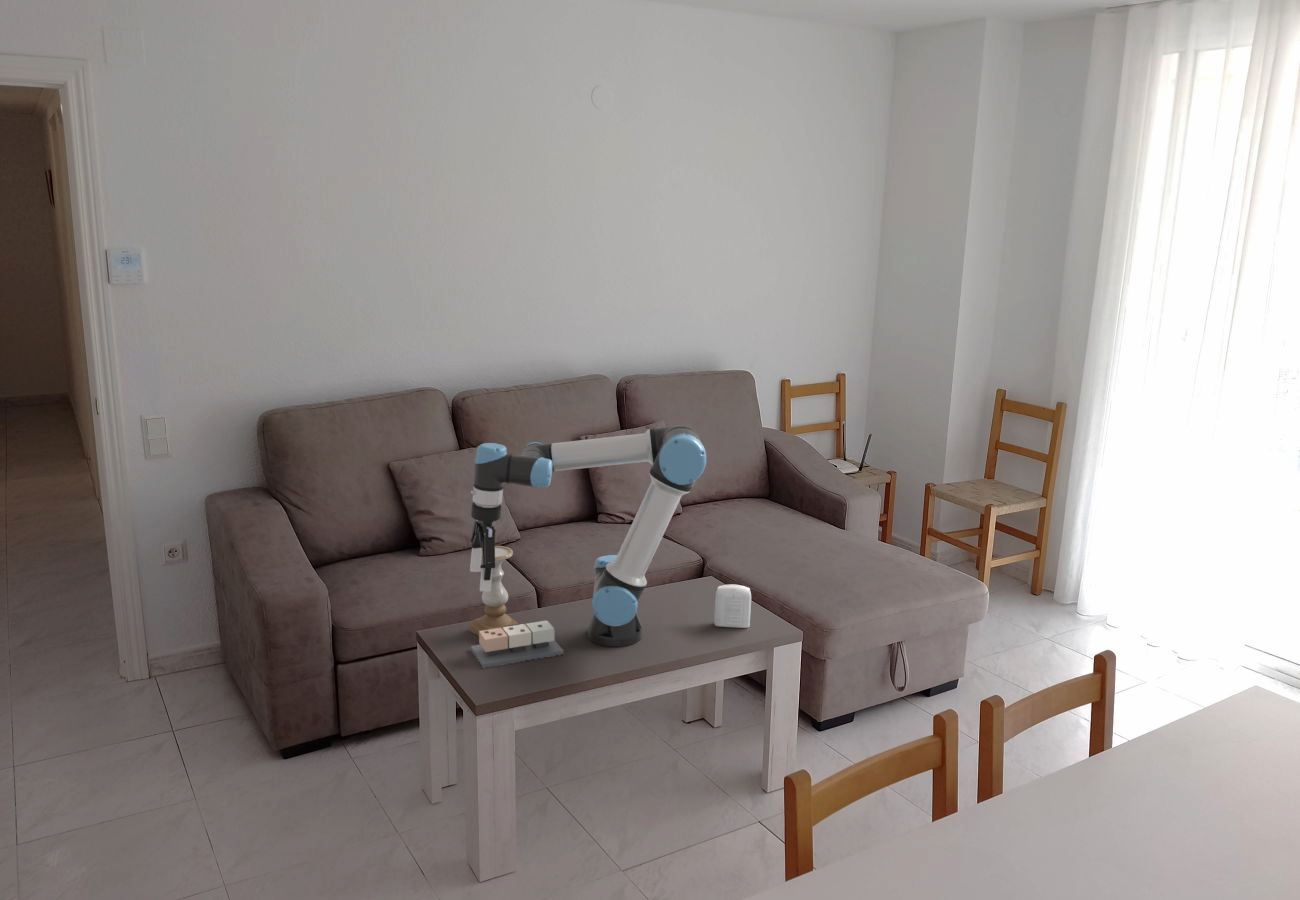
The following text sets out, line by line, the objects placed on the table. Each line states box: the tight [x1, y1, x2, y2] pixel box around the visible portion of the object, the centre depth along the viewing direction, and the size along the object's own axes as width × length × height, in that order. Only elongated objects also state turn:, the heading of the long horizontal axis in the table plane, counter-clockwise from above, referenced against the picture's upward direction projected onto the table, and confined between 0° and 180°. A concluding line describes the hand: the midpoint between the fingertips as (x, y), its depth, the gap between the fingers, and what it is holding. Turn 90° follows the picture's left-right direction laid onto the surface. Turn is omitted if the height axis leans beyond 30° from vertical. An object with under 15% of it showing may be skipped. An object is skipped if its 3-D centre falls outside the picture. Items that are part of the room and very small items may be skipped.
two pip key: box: [503, 623, 531, 648], centre depth 272 cm, size 6×6×4 cm
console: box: [470, 639, 565, 669], centre depth 273 cm, size 22×12×4 cm, turn 115°
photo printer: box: [713, 583, 752, 629], centre depth 293 cm, size 10×4×12 cm, turn 86°
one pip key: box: [525, 620, 555, 644], centre depth 275 cm, size 6×6×4 cm
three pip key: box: [478, 628, 508, 652], centre depth 270 cm, size 6×6×4 cm
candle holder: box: [469, 545, 519, 637], centre depth 283 cm, size 11×11×24 cm
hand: (480, 581), depth 267 cm, fingers open, 13 cm apart
